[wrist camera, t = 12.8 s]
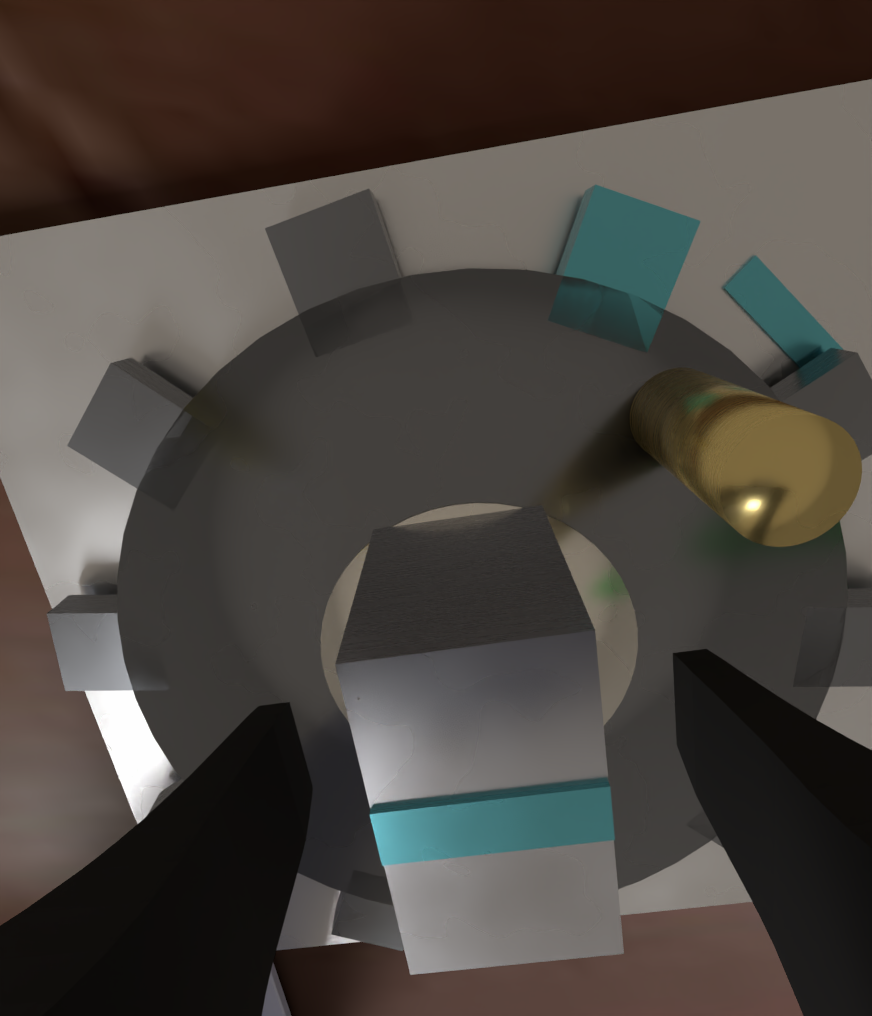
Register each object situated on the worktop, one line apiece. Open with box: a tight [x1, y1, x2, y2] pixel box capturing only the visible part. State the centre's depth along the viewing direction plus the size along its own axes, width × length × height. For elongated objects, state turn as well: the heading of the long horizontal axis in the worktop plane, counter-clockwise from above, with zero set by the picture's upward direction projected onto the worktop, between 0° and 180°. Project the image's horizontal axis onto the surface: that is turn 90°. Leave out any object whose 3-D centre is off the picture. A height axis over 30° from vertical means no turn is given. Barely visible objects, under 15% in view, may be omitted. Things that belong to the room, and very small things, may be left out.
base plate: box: [0, 79, 872, 950], centre depth 16 cm, size 20×20×1 cm
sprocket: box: [47, 184, 872, 951], centre depth 13 cm, size 19×19×5 cm
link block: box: [335, 505, 624, 975], centre depth 12 cm, size 6×4×5 cm, turn 9°
